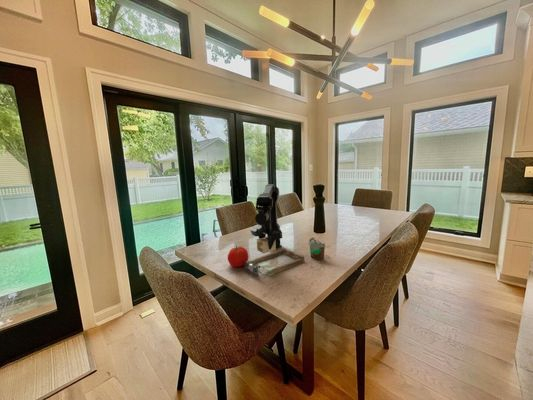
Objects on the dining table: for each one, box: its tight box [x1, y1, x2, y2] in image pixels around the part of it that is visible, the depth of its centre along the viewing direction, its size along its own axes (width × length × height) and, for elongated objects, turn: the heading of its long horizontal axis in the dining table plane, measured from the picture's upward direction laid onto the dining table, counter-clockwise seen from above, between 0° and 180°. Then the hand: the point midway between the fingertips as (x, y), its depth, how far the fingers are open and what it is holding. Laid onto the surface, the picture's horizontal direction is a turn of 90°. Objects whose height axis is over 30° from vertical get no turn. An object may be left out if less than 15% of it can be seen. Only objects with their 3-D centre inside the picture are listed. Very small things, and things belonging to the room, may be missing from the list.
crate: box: [256, 236, 277, 254], centre depth 118 cm, size 6×8×6 cm
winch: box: [244, 259, 261, 278], centre depth 113 cm, size 13×6×6 cm, turn 37°
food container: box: [307, 237, 326, 261], centre depth 128 cm, size 12×6×10 cm, turn 21°
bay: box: [249, 247, 305, 277], centre depth 124 cm, size 18×26×3 cm
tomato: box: [227, 245, 249, 268], centre depth 122 cm, size 12×12×10 cm
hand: (266, 247), depth 118 cm, fingers closed on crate, 6 cm apart
